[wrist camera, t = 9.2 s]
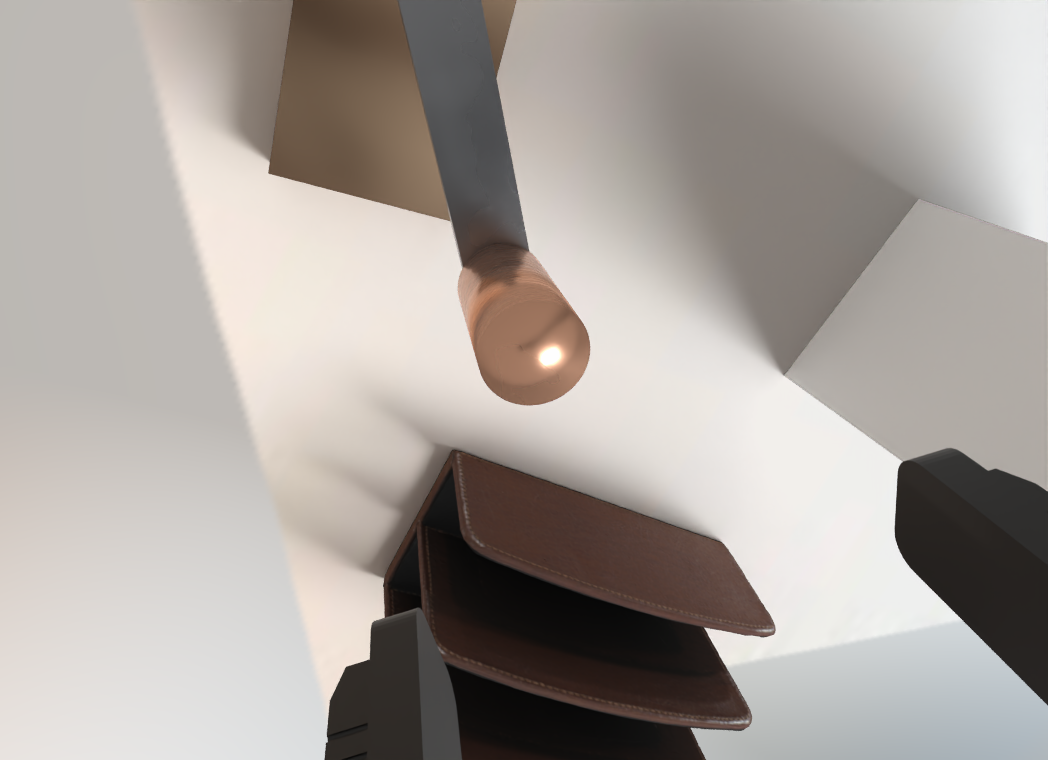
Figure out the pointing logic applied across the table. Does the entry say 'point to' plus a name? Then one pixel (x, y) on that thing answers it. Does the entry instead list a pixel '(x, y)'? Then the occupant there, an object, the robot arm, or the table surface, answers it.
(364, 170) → the press bench
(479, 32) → the lever
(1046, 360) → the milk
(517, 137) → the table surface
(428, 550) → the letter holder
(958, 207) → the table surface
